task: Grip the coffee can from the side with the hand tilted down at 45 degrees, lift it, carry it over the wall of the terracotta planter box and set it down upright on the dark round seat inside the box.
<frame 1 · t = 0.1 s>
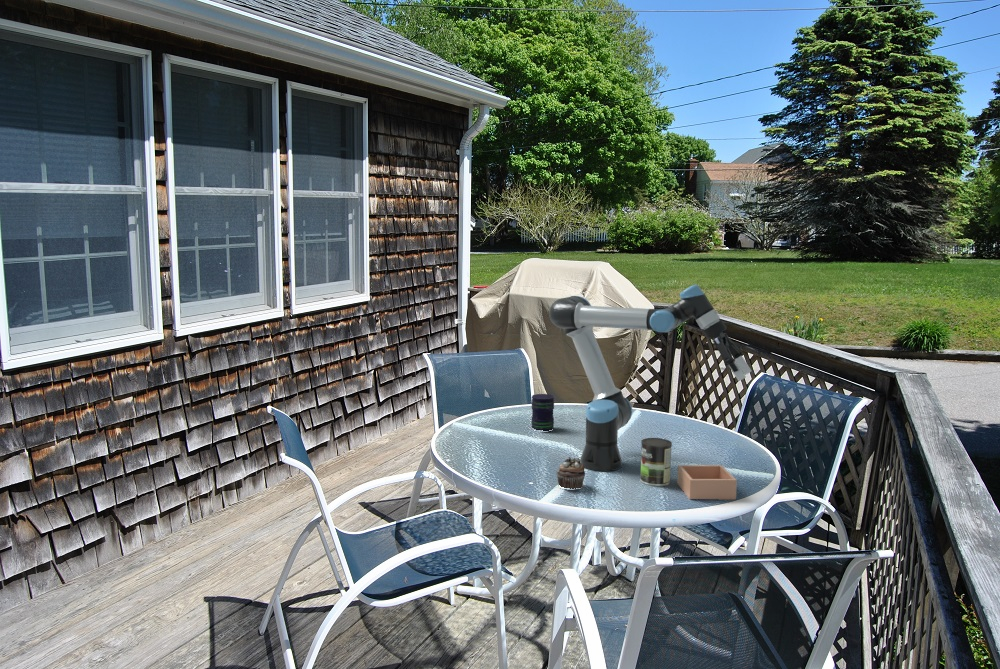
hand: (745, 376, 247), 36 cm above the table, tool tilted 35°, fingers open, 13 cm apart
coffee can: (655, 481, 245), on the table
cupcake: (570, 487, 239), on the table
planter box: (705, 491, 235), on the table
storage jar: (542, 430, 311), on the table
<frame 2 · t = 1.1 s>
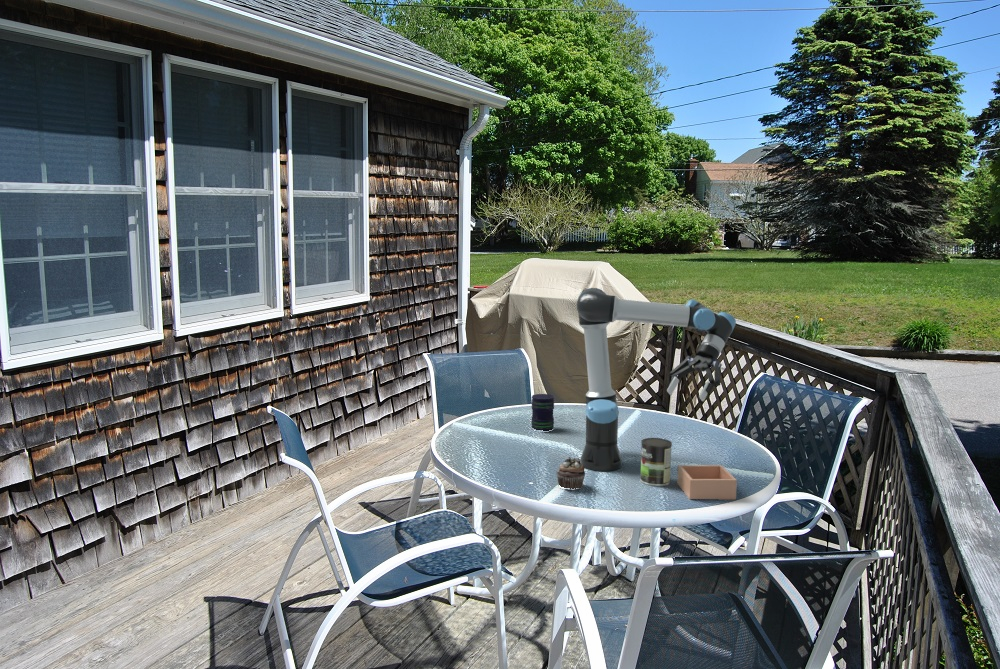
hand: (684, 395, 251), 28 cm above the table, tool tilted 45°, fingers open, 13 cm apart
nothing on the table moved.
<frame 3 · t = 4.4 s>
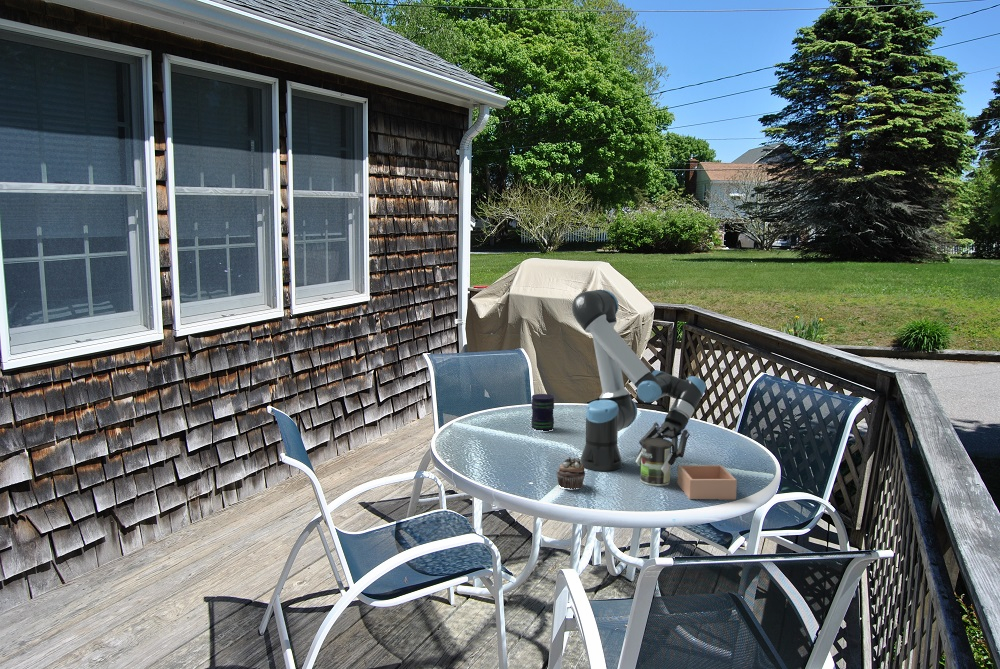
hand: (650, 467, 242), 5 cm above the table, tool tilted 45°, fingers closed on coffee can, 10 cm apart
coffee can: (655, 481, 245), on the table, touching gripper
everything else where it was.
when the fingers open (8 cm above the table, at t = 10.0 s): coffee can drops 2 cm, resting on planter box.
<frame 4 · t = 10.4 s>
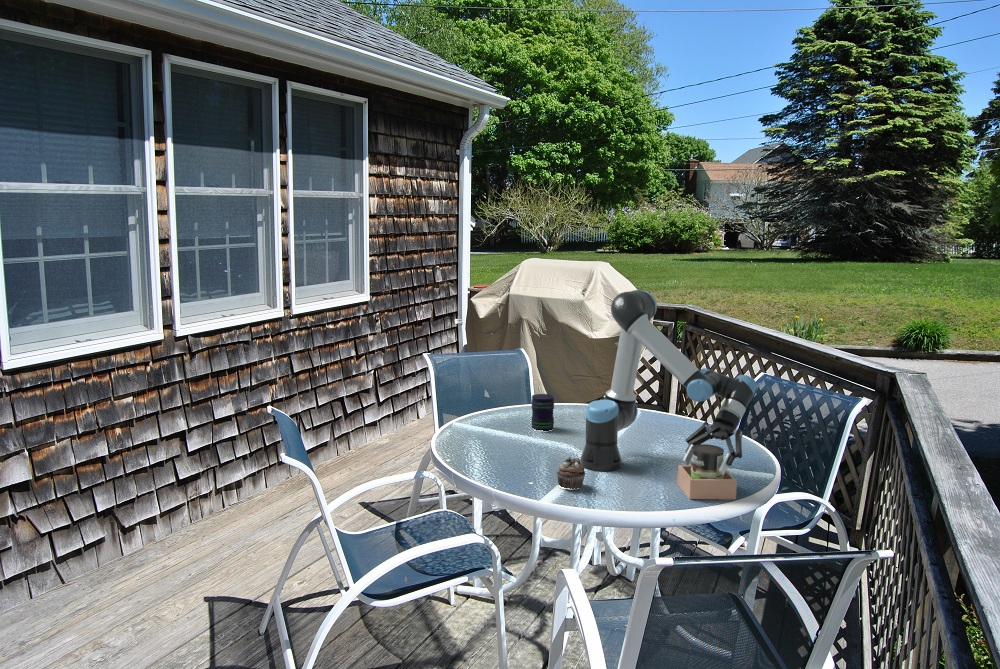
hand: (702, 467, 232), 9 cm above the table, tool tilted 45°, fingers open, 13 cm apart
coffee can: (705, 490, 235), resting on planter box
everything else where it was.
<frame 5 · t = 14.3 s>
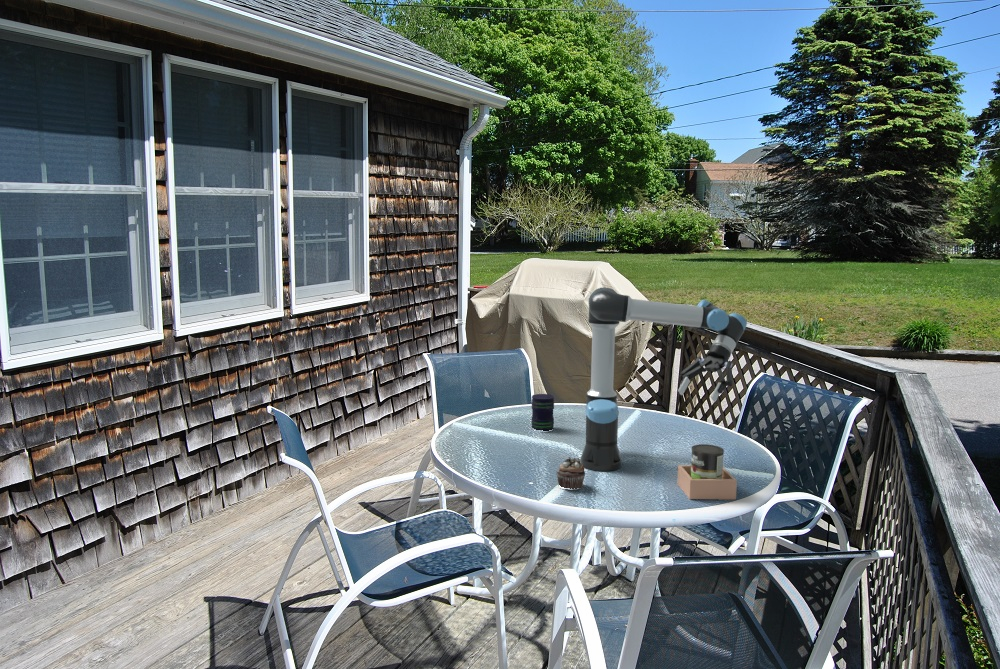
hand: (696, 396, 252), 28 cm above the table, tool tilted 45°, fingers open, 13 cm apart
nothing on the table moved.
at the end: coffee can inside the target area on the planter box (0.1 cm from its centre), point 0.3 cm above the planter box's base; coffee can tilted 0°; the gripper is holding nothing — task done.
